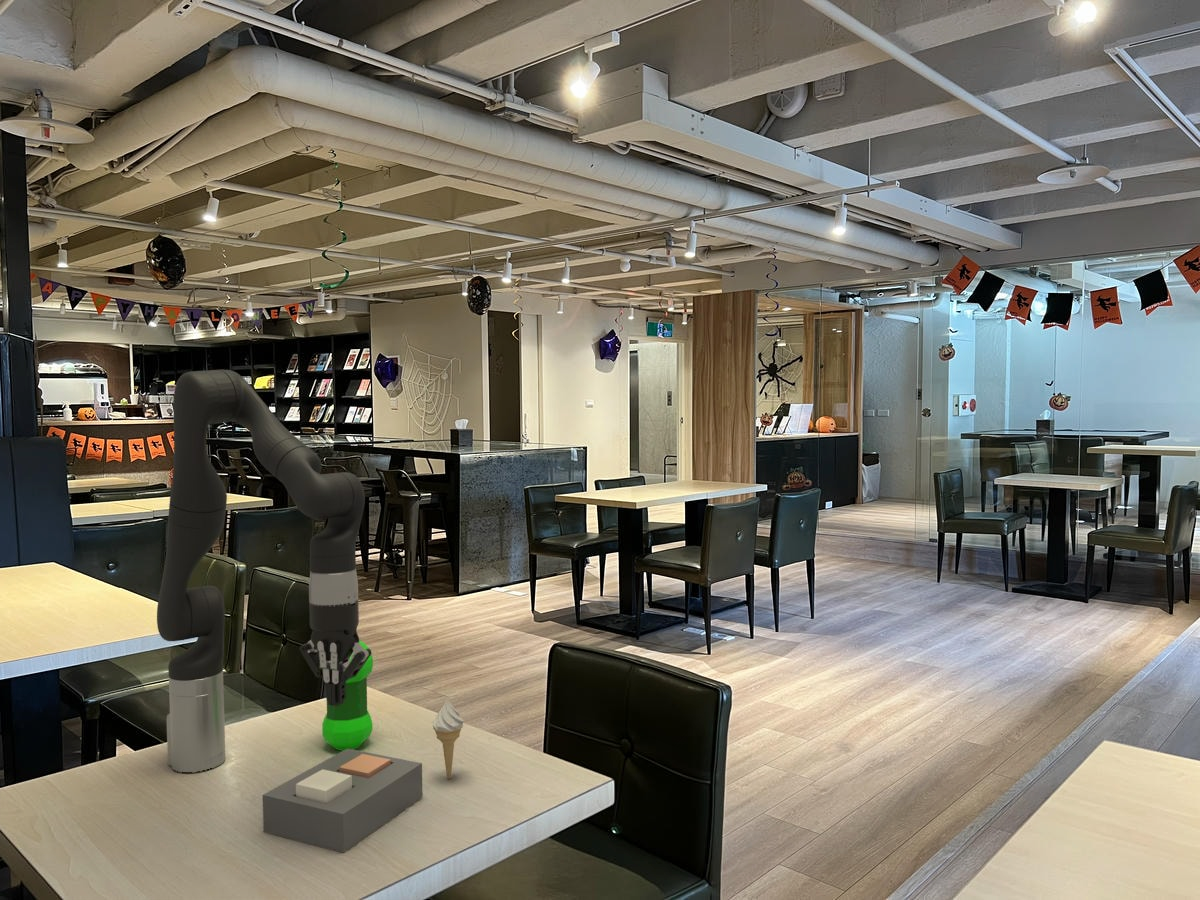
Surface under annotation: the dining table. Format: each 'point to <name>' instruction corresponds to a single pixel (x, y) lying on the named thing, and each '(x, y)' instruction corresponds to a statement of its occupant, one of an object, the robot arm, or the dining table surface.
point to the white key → (324, 786)
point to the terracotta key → (365, 765)
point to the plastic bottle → (350, 713)
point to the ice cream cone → (448, 731)
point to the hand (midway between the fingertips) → (336, 704)
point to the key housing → (343, 804)
